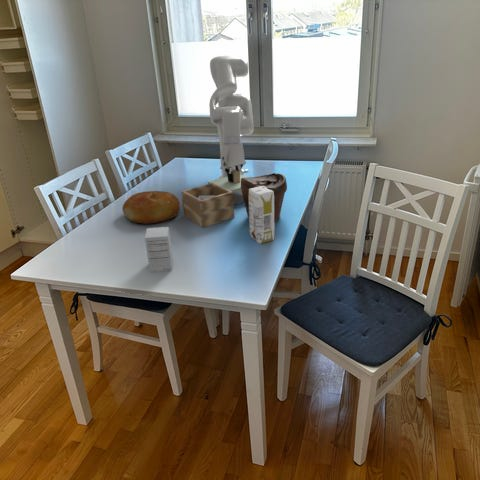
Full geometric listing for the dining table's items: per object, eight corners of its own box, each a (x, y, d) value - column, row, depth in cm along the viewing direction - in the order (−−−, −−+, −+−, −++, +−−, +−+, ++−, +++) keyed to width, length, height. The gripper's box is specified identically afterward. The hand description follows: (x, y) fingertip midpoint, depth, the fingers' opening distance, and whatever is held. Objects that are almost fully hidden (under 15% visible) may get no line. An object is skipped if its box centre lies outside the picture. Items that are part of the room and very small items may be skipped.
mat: (238, 188, 211) (238, 187, 211) (259, 197, 199) (259, 196, 199) (210, 196, 203) (210, 195, 202) (230, 206, 191) (230, 205, 191)
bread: (150, 202, 200) (147, 181, 196) (191, 210, 189) (189, 188, 184) (113, 220, 183) (109, 198, 178) (156, 231, 172) (153, 207, 167)
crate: (214, 206, 191) (212, 182, 186) (234, 217, 180) (233, 192, 175) (184, 216, 184) (181, 191, 179) (203, 227, 173) (200, 201, 168)
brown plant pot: (294, 210, 184) (293, 169, 176) (277, 230, 168) (275, 185, 160) (254, 205, 191) (252, 165, 183) (234, 224, 175) (231, 181, 167)
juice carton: (258, 245, 157) (257, 195, 149) (247, 236, 164) (245, 188, 156) (277, 240, 160) (276, 191, 152) (265, 231, 167) (264, 184, 159)
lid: (238, 175, 208) (237, 163, 206) (260, 184, 196) (260, 171, 193) (208, 183, 200) (207, 170, 197) (229, 193, 187) (228, 179, 184)
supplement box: (151, 261, 150) (146, 227, 144) (173, 259, 151) (169, 226, 145) (149, 272, 144) (144, 237, 138) (172, 270, 144) (167, 236, 138)
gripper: (242, 135, 196) (243, 175, 204) (211, 141, 188) (214, 182, 196) (252, 137, 190) (253, 178, 198) (221, 144, 182) (223, 186, 190)
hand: (233, 180), depth 197 cm, fingers closed on lid, 3 cm apart
